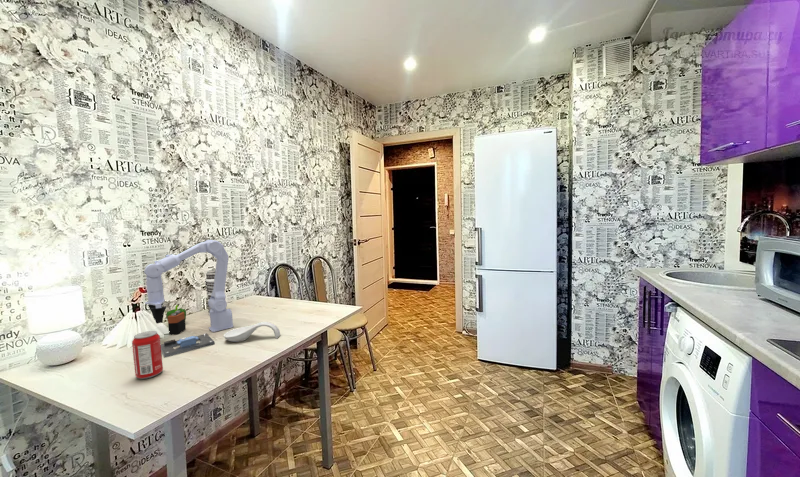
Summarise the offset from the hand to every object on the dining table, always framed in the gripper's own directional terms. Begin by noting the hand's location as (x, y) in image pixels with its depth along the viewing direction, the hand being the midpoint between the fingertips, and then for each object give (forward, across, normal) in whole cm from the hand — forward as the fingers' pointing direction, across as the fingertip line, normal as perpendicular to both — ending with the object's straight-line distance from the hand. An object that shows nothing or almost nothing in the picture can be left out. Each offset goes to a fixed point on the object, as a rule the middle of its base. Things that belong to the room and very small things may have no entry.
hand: (158, 320), depth 148 cm
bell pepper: (+10, -23, +10) cm, 27 cm away
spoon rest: (+10, +26, +31) cm, 42 cm away
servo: (+10, +14, +8) cm, 19 cm away
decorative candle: (+10, -30, +30) cm, 44 cm away
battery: (+10, -10, +8) cm, 16 cm away
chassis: (+10, +14, +8) cm, 19 cm away
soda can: (+10, +35, -7) cm, 37 cm away
